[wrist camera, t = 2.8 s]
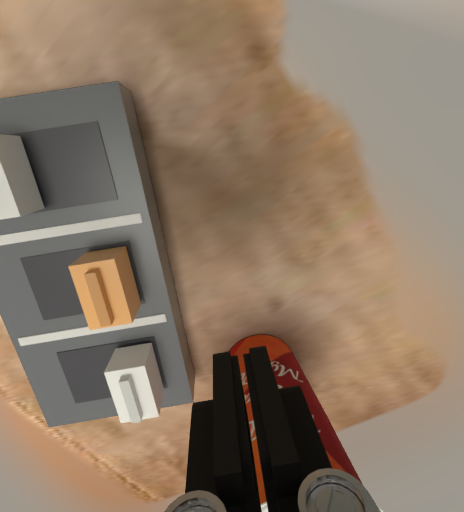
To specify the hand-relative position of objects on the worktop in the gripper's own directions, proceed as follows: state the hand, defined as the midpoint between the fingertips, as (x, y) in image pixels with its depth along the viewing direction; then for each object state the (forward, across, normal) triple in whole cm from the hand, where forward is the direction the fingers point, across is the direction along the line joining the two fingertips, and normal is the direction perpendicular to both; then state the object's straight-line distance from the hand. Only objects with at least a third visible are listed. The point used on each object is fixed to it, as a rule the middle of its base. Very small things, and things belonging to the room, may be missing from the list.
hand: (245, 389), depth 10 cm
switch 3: (+11, +7, +6) cm, 15 cm away
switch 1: (+11, +11, -8) cm, 17 cm away
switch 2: (+11, +7, -1) cm, 13 cm away
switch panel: (+14, +10, -1) cm, 17 cm away
